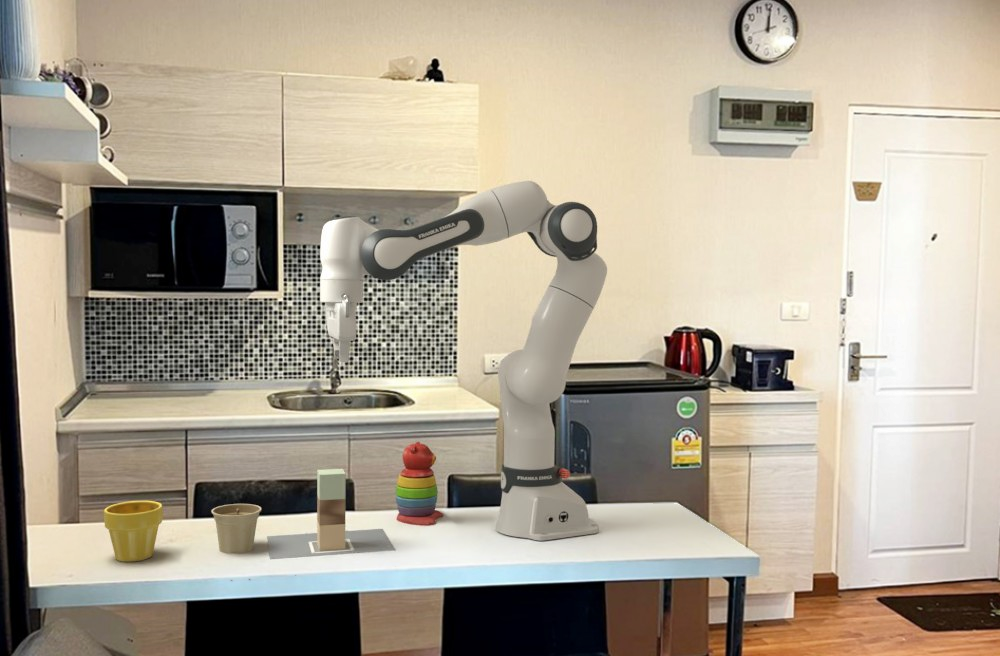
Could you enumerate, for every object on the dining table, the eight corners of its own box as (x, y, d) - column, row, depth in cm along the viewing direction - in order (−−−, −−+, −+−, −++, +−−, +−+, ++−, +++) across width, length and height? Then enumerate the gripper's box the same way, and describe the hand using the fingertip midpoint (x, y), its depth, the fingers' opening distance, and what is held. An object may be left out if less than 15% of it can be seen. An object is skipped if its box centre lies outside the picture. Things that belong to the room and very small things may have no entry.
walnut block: (342, 517, 179) (342, 493, 179) (345, 523, 174) (345, 498, 174) (317, 519, 178) (317, 494, 178) (319, 525, 173) (319, 500, 173)
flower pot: (269, 547, 178) (269, 504, 177) (247, 561, 169) (248, 516, 168) (226, 544, 180) (226, 502, 179) (202, 558, 170) (202, 513, 170)
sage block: (342, 493, 179) (342, 468, 179) (345, 498, 174) (345, 473, 174) (317, 494, 178) (317, 469, 177) (319, 500, 173) (319, 474, 173)
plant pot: (103, 567, 164) (103, 515, 163) (105, 552, 173) (104, 502, 173) (163, 561, 168) (163, 510, 167) (161, 547, 177) (161, 498, 177)
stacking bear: (433, 530, 192) (433, 448, 192) (388, 526, 194) (389, 446, 194) (446, 517, 203) (446, 440, 202) (403, 514, 205) (404, 438, 204)
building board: (382, 532, 190) (382, 505, 190) (395, 553, 175) (395, 524, 174) (267, 540, 183) (267, 512, 183) (269, 563, 168) (270, 532, 167)
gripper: (363, 294, 176) (363, 364, 176) (350, 294, 195) (350, 356, 196) (331, 294, 174) (331, 364, 174) (321, 293, 193) (321, 356, 194)
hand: (341, 360), depth 185 cm, fingers open, 8 cm apart
